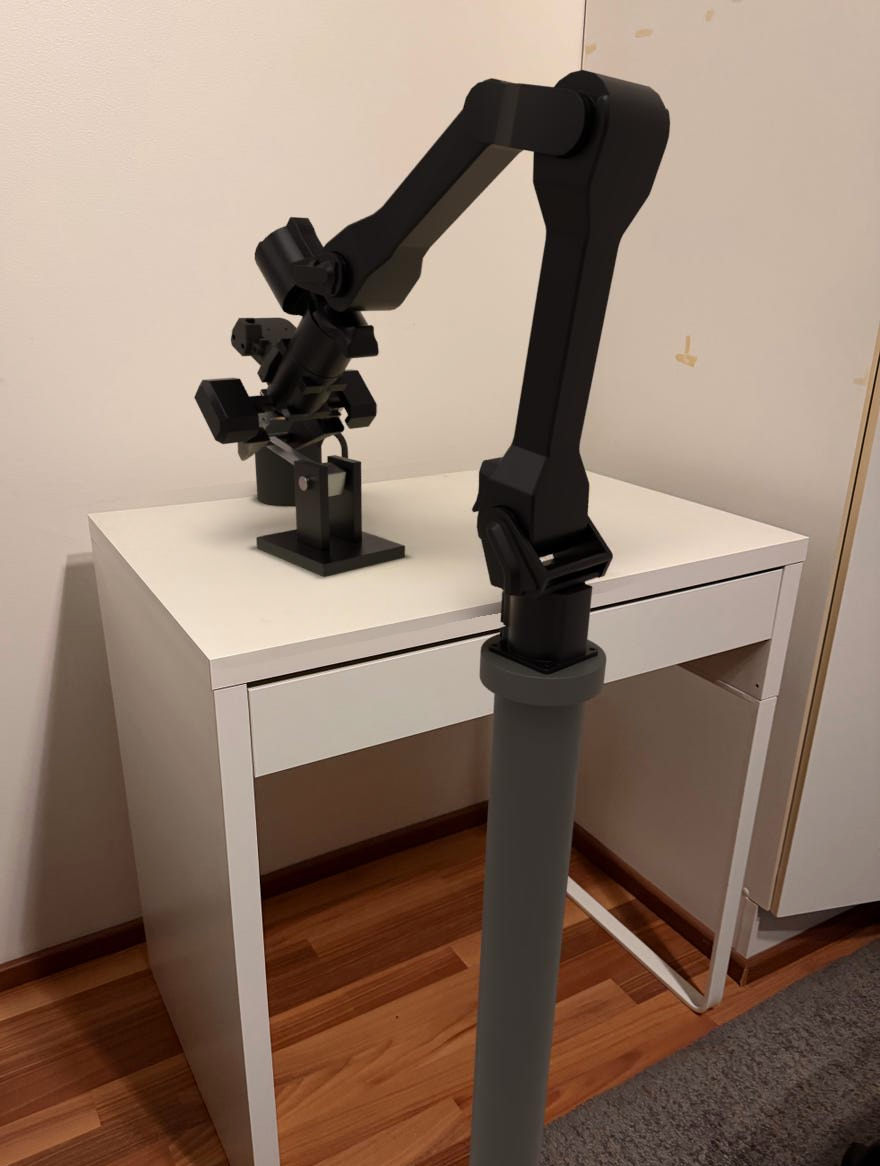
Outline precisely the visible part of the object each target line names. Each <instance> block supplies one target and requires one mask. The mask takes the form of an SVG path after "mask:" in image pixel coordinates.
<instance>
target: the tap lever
mask: <svg viewBox="0 0 880 1166" xmlns="http://www.w3.org/2000/svg"><path fill="white" fill-rule="evenodd" d="M268 436H269V438H270V441H269V442H268V443H267V444H266V445H265V446H266V447H268V448H269V449H271V450H272V451H274V452H275V453H277V454H278V455H280V456H281V457H283V458H284V459H286V460H287V461H289V462H290V463H292V464H293V465H294V461H297V460H305V461H308V462H312V463H315V462H313V461H312V460H310V459H309V458H307V457H306V456H304V455H303V454H301V453H299V452H298V451H296V450H295V449H293V448H292V447H290V446H289V445H287V444H288V443H290V442H291V435H290V433H288V432H284V433H275V434H268ZM265 446H263V447H265ZM318 464H320V465H323V466H327V467H328V494H329V497H331V496H337V495H343V494H344V487H345V478H346V472H345V471H344V470H342V469H341V468H339V467H337V466H336V465H334V464H333V463H331V462H327V461H326V462H322V463H318Z"/></svg>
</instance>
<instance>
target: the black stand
mask: <svg viewBox="0 0 880 1166" xmlns="http://www.w3.org/2000/svg"><path fill="white" fill-rule="evenodd" d="M326 462H331V463H333V464H334V465H336V466H337V467H339V468H341V469H342V470H344V471H345V472H346V478H345V487H344V494H343V495H337V496H331V497H329V494H328V467H327V466H323V465H320V464H316V463H312V462H308V461H305V460H297V461H294V476H295V501H296V505H295V518H296V519H295V520H296V523H295V525H296V528H294V529H289V530H285V531H280V532H275V533H269V534H264V535H260V536H256V541H255V542H256V548H257V549H258V550H261V551H263V552H266V553H268V554H270V555H273V556H274V557H277V558H279V559H282V560H284V561H286V562H289V563H291V564H293V565H296V566H298V567H301V568H302V569H305V570H308V571H310V572H312V573H314V574H317V575H320V576H322V577H327V576H330V575H336V574H339V573H340V574H341V573H344V572H349V571H353V570H357V569H361V568H365V567H368V566H372V565H377V564H380V563H384V562H385V563H386V562H389V561H390V562H391V561H393V560H398V559H402V558H405V557H406V545H404V544H401V543H399V542H395V541H393V540H390V539H387V538H384V537H381V536H378V535H376V534H373V533H369V532H366V531H364V530H363V507H362V506H363V498H362V497H363V495H362V461H360V460H356V459H352V458H349V457H348V458H345V457H342V455H341V456H340V455H336V454H333V455H327V456H326Z"/></svg>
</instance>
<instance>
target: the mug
mask: <svg viewBox="0 0 880 1166" xmlns="http://www.w3.org/2000/svg"><path fill="white" fill-rule="evenodd" d="M291 423H292V421H290V422H286V420H285V419H276V420H270V423H269V425H268V426H267V427H266V429H265V430H266V432H267V434H275V433H284V432H287V431H288V429H289V427H290V425H291ZM333 437H335V438H336V439H337V441H338V442H339V445H340V449H341V450H340V451H341V452H340V453H341V457H345V458H349V446H348V442H347V440H346V438H345V436H344V434H342V433H338V434H335V435H333ZM324 441H325V439H322V440H320V441H318V442H315V443H313V444H311V445H308V446H306V447H304V448H302V449H299V450H297V451H298V452H299V453H301V454H303V455H304V456H306V457H307V458H309V459H310V460H312V461H313V462H315V463H316V464H318V463H323V454H322V453H323V451H322V446H323V444H324ZM254 464H255V479H256V480H255V482H256V483H255V484H256V498H257V500H258V501H259V502H260V503H262V504H265V505H270V506H282V507H284V506H285V507H291V506H293V507H294V506H295V507H296V501H295V476H294V465H293V464H292V463H290V462H289V461H287V460H286V459H284V458H283V457H281V456H280V455H278V454H277V453H275V452H274V451H272V450H271V449H269V448H268V447H266V446H265V447H262V448H261V449H260V450H258V451H257V452H256V453H255V454H254Z"/></svg>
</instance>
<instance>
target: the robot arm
mask: <svg viewBox="0 0 880 1166" xmlns="http://www.w3.org/2000/svg"><path fill="white" fill-rule="evenodd" d="M670 133H671V116H670V110H669V109H668V108H666V106H665V103H664V101H663V99H662V98H661V96H660V93H658V92H657V91H656V90H655V89H653V88H652V87H651V86H649V85H644V84H641V83H637V82H633V81H629V80H625V79H621V78H616V77H613V76H610V75H605V74H601V73H599V72H598V73H597V72H593V71H589V70H585V69H580V70H575V71H571V72H569V73H568V74H566V75H565V76H563V77H562V78H560V79H559V80H558V81H557V82H556V83H555V84H554V86H550V85H549V86H547V85H540V84H539V85H538V84H530V83H521V82H520V83H519V82H511V81H507V80H502V79H498V78H494V77H490V78H487V79H484V80H482V81H479V82H477V83H476V84H474V86H472V87H471V88H470V90H469V91H468V93H467V95H466V96H465V99H464V102H463V106H462V109H461V110H460V111H459V112H458V114H457V115H456V116H455V118H454V119H453V120H452V121H451V122H450V123H449V124H448V126H447V127H446V128H445V130H444V131H443V132H442V133H441V134H440V136H438V138H437V139H436V140H435V141H434V142H433V144H432V145H431V147H429V149H428V150H427V151H426V153H424V155H423V156H422V157H421V159H420V160H419V161H418V162H417V163H416V164H415V166H414V167H413V168H412V170H410V172H409V173H408V174H407V175H406V176H405V178H404V179H403V180H402V181H401V183H400V184H399V185H398V186H397V188H396V189H395V190H394V192H392V194H391V195H390V196H389V197H388V199H387V200H386V201H385V202H384V204H383V205H382V206H381V207H379V208H378V209H377V210H376V211H375V212H374V213H372V214H369V215H368V216H365V217H363V218H360V219H358V220H357V221H354V222H351V223H350V224H348V225H346V226H345V227H344V228H342V229H341V230H340V231H339V232H338V233H336V234H335V235H334V236H333V237H332V238H331V239H329V240H328V241H327V242H326V243H325V244H324V246H323V244H322V242H321V240H320V239H319V237H318V235H317V232H316V229H315V227H314V225H313V223H312V222H311V220H310V219H309V217H297V216H290V217H289V219H288V221H287V222H286V225H283V226H282V227H279V228H277V229H275V230H274V231H272V232H270V233H269V234H268V235H266V236H265V237H264V238H263V240H261V241H259V242H258V244H257V246H256V247H255V249H254V250H255V251H254V262H255V265H256V266H257V268H258V269H259V271H260V273H261V274H262V277H263V278H264V280H265V282H266V284H267V286H268V287H269V289H270V291H271V292H272V294H273V296H274V298H275V299H276V302H277V303H278V305H279V307H280V308H281V310H282V311H283V313H285V314H287V315H291V316H299V317H301V319H300V321H299V322H298V325H297V326H296V325H294V324H293V323H292V321H290V320H288V319H287V318H283V317H238V319H237V320H236V322H235V324H234V326H233V328H232V330H231V334H230V335H231V336H230V343H231V346H232V347H233V349H234V350H235V351H236V352H237V353H238V354H240V356H241V357H251V358H252V359H253V360H254V361H255V362H256V363H257V364H258V365H259V368H258V370H257V372H256V374H257V377H258V378H259V379H260V382H261V383H266V385H267V387H266V388H261V389H260V391H259V395H249V394H248V391H247V389H246V387H245V386H244V384H243V382H242V379H241V378H240V377H239V378H238V377H223V378H210V379H208V378H207V379H201V382H200V383H199V385H198V387H197V389H196V392H195V394H194V398H193V399H194V400H195V402H196V405H197V407H198V408H199V410H200V412H201V415H202V417H203V419H204V420H205V422H206V424H207V427H208V429H209V430H210V433H211V435H212V437H213V439H214V440H215V441H216V442H217V443H220V445H221V444H222V445H228V444H236V443H237V454H238V456H239V459H240V461H241V462H244V461H246V460H248V459H250V458H252V456H255V453H256V452H257V451H258V450H260V449H261V448H262V447H263V446H265V445H266V444H267V443H268V442H269V441H270V438H269V436H268V434H267V432H266V430H265V429H266V427H267V426H268V425H269V423H270V420H276V419H285V420H286V422H290V421H292V423H291V425H290V427H289V429H288V431H287V432H288V433H290V435H291V442H290V443H288V444H287V445H289V446H290V447H292V448H293V449H295V450H296V451H297V450H299V449H302V448H304V447H306V446H308V445H311V444H313V443H315V442H318V441H320V440H322V439H324V440H325V439H327V438H330V437H333V436H334V435H335V434H338V433H341V434H342V433H343V432H344V431H345V425H346V426H347V427H348V429H350V430H352V429H361V428H369V427H370V426H371V424H372V423H373V421H374V420H375V419H376V417H377V414H378V403H377V402H376V400H375V398H374V396H373V395H372V392H371V391H370V389H369V388H368V387H369V386H367V383H366V382H365V379H363V376H362V375H361V373H360V371H359V370H358V369H347V368H348V366H349V364H350V363H351V361H352V359H359V358H360V359H361V358H372V357H377V356H379V353H380V350H379V342H378V340H377V337H376V336H375V327H374V325H372V324H369V323H368V322H367V320H366V318H365V315H363V313H362V312H388V311H389V312H390V311H395V310H397V309H398V308H399V307H401V306H402V304H403V303H404V302H405V300H406V299H407V297H408V296H409V295H410V293H411V292H412V290H413V289H414V287H415V286H416V284H417V283H418V281H419V280H420V278H421V276H422V271H423V264H424V258H425V256H426V255H427V253H428V252H429V251H430V249H431V248H432V247H433V246H434V244H436V242H437V241H438V240H439V239H440V238H441V237H442V236H443V234H444V233H446V231H448V230H449V228H450V227H451V226H452V225H453V224H454V223H455V222H456V221H457V220H458V219H459V218H460V217H461V216H462V215H463V213H464V212H465V211H466V210H467V209H468V208H469V207H470V206H471V205H472V204H473V203H474V202H475V200H477V199H478V198H479V197H480V195H481V194H483V193H484V191H485V190H486V189H487V188H488V187H489V186H490V185H491V184H492V183H493V182H494V181H495V180H496V178H498V176H499V175H500V174H501V173H502V172H504V170H505V169H506V168H507V167H508V166H509V165H510V164H511V163H512V162H513V160H514V159H515V158H517V156H518V155H519V154H520V153H522V152H523V151H527V152H532V153H533V154H532V155H533V157H532V159H533V160H532V185H533V188H534V192H535V195H536V199H537V202H538V206H539V209H540V212H541V216H542V220H543V223H544V226H545V237H544V238H545V239H544V246H543V252H542V258H541V263H540V270H539V275H538V276H539V277H538V282H537V289H536V295H535V302H534V308H533V314H532V319H531V327H530V332H529V339H528V345H527V352H526V358H525V364H524V369H523V370H524V371H523V376H522V383H521V388H520V395H519V402H518V407H517V414H516V420H515V427H514V433H513V438H512V441H511V443H510V445H509V447H507V449H506V451H505V453H504V454H503V455H502V456H500V457H494V458H488V459H484V460H482V462H481V465H480V468H479V470H478V489H477V491H478V492H477V495H476V499H475V502H474V504H473V506H472V508H471V512H472V513H477V516H476V531H477V537H478V538H479V539H480V541H481V546H482V551H483V555H484V560H485V565H486V569H487V574H488V578H489V582H490V585H491V586H492V587H495V588H498V589H501V591H502V592H501V602H500V620H499V621H500V623H502V625H503V626H500V628H499V634H500V637H501V638H502V640H499V641H496V642H493V643H490V644H489V648H488V650H489V651H490V652H493V653H495V654H497V655H500V656H502V657H504V658H507V659H509V660H511V661H514V662H516V663H518V664H521V665H523V666H525V667H528V668H530V669H532V670H534V671H537V672H539V673H541V674H545V675H549V674H552V673H555V672H557V671H560V670H562V669H565V668H568V667H570V666H573V665H575V664H578V663H580V662H583V661H585V660H588V659H590V658H593V657H595V656H597V655H598V650H599V649H598V648H595V647H593V646H590V645H588V644H587V639H588V638H589V628H590V627H589V626H590V618H591V617H590V616H591V605H592V595H593V586H592V585H591V584H587V583H586V582H589V581H591V580H594V579H600V578H604V577H605V576H606V574H607V572H608V570H609V567H610V565H611V563H612V560H613V558H614V554H613V552H612V551H611V549H610V547H609V546H608V545H607V543H606V541H605V539H604V537H603V536H602V535H601V533H600V532H599V530H598V528H597V526H596V525H595V524H594V522H593V521H592V519H591V517H590V516H589V504H590V503H589V502H590V481H589V478H588V475H587V471H586V468H585V465H584V462H583V458H582V455H581V453H580V451H581V449H580V448H581V447H580V446H581V440H582V436H583V429H584V425H585V419H586V414H587V410H588V404H589V400H590V394H591V388H592V384H593V379H594V374H595V369H596V363H597V359H598V355H599V354H598V353H599V349H600V343H601V339H602V333H603V328H604V323H605V319H606V312H607V307H608V302H609V299H610V293H611V288H612V282H613V278H614V273H615V267H616V262H617V258H618V251H619V247H620V244H621V241H622V238H623V237H624V234H625V233H626V231H627V230H628V228H629V227H630V225H631V224H632V222H633V221H634V219H635V218H636V216H637V215H638V213H639V212H640V211H641V209H642V208H643V206H644V205H645V202H646V201H647V200H648V198H649V197H650V195H651V193H652V189H653V186H654V183H655V181H656V178H657V175H658V172H659V169H660V166H661V163H662V161H663V157H664V155H665V152H666V149H667V146H668V142H669V138H670ZM343 410H345V412H346V414H347V415H346V417H345V418H344V421H342V419H341V417H342V415H343V414H342V411H343ZM343 422H344V423H345V425H344V424H343ZM551 555H552V558H550V559H546V560H543V561H542V560H541V558H544V557H549V556H551Z"/></svg>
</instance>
